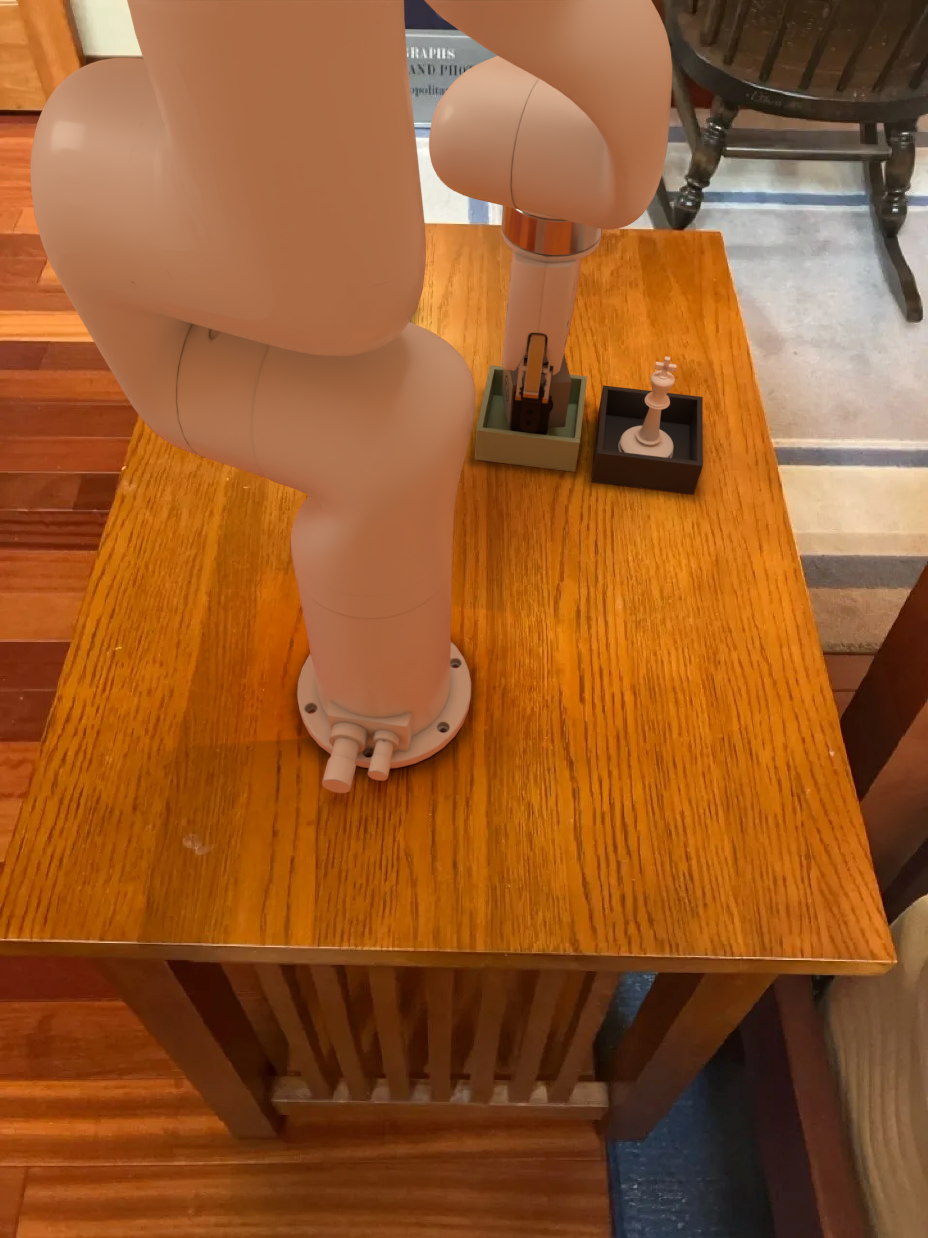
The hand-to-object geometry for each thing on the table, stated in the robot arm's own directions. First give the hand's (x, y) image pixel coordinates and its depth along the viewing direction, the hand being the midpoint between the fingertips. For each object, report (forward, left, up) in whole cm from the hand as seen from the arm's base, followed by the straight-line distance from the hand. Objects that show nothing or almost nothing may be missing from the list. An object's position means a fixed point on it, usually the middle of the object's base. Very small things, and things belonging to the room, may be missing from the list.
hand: (533, 404), depth 83 cm
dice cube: (0, 0, -1) cm, 1 cm away
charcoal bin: (-1, -10, -3) cm, 11 cm away
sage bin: (0, 0, -3) cm, 3 cm away
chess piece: (-1, -10, -3) cm, 11 cm away
